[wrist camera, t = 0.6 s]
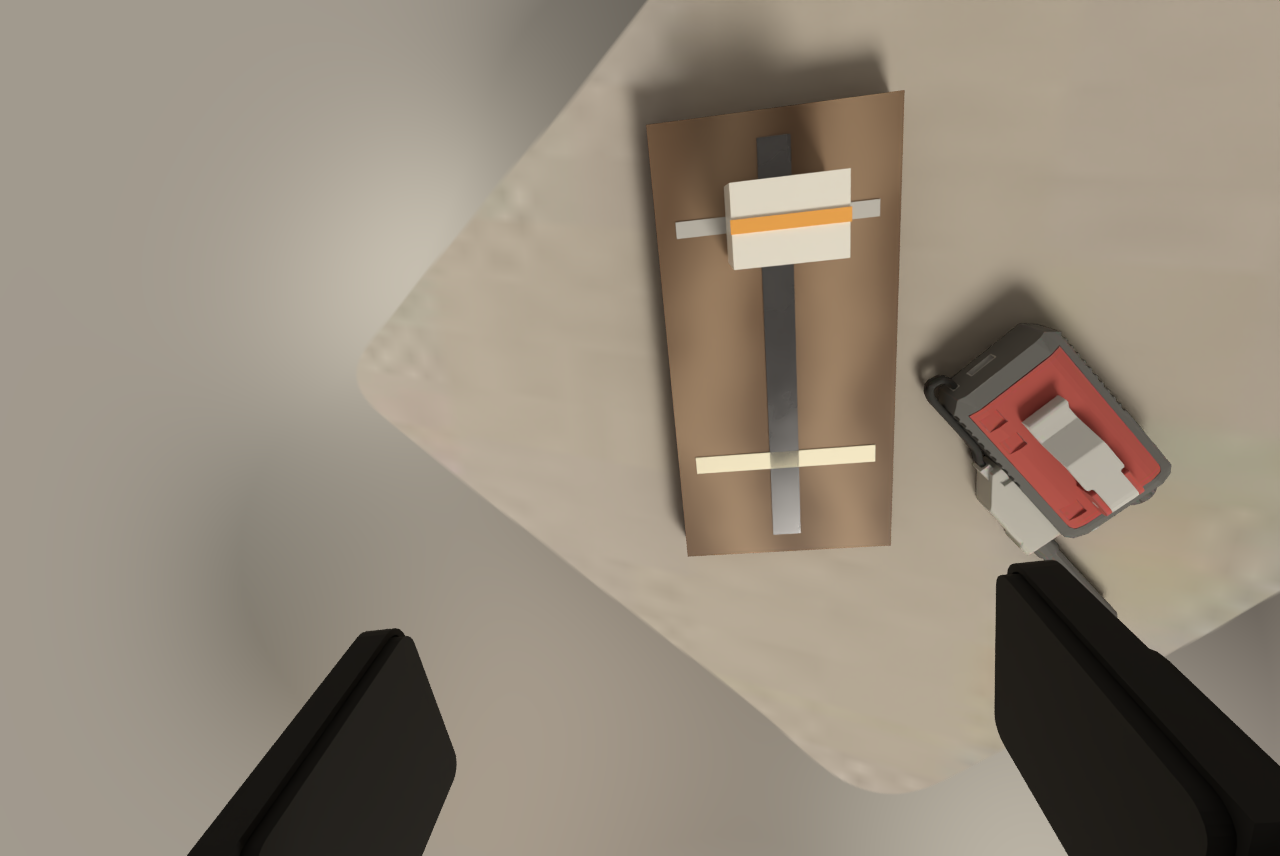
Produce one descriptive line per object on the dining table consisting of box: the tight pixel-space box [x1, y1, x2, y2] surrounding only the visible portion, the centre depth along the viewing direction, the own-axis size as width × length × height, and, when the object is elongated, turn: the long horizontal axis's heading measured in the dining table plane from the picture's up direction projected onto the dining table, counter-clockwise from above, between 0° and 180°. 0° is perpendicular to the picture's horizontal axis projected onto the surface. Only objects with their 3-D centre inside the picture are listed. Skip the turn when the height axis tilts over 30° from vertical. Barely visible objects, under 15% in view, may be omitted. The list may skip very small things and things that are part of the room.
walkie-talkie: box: [924, 324, 1171, 617], centre depth 34 cm, size 9×4×20 cm
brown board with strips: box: [646, 90, 904, 556], centre depth 33 cm, size 12×24×2 cm, turn 6°
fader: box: [724, 168, 852, 270], centre depth 28 cm, size 5×4×4 cm
